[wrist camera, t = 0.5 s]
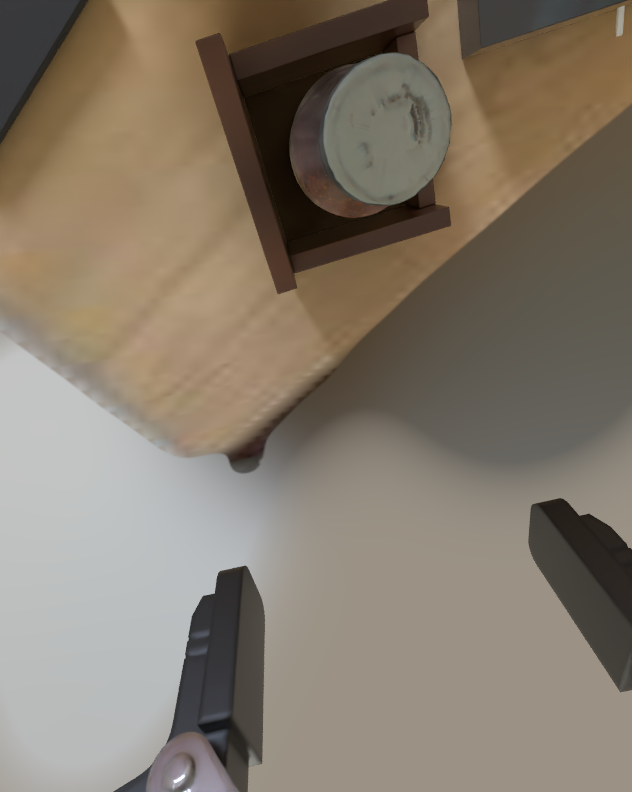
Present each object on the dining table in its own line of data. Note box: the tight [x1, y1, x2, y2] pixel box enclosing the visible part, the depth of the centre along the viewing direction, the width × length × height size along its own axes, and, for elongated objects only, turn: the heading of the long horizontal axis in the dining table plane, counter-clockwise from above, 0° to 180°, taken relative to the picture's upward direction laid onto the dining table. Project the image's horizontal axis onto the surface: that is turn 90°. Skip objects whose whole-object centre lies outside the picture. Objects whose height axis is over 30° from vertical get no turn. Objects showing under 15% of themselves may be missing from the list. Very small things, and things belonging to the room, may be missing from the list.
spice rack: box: [196, 0, 451, 294], centre depth 26 cm, size 12×12×10 cm
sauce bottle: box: [290, 53, 451, 218], centre depth 21 cm, size 6×6×20 cm
